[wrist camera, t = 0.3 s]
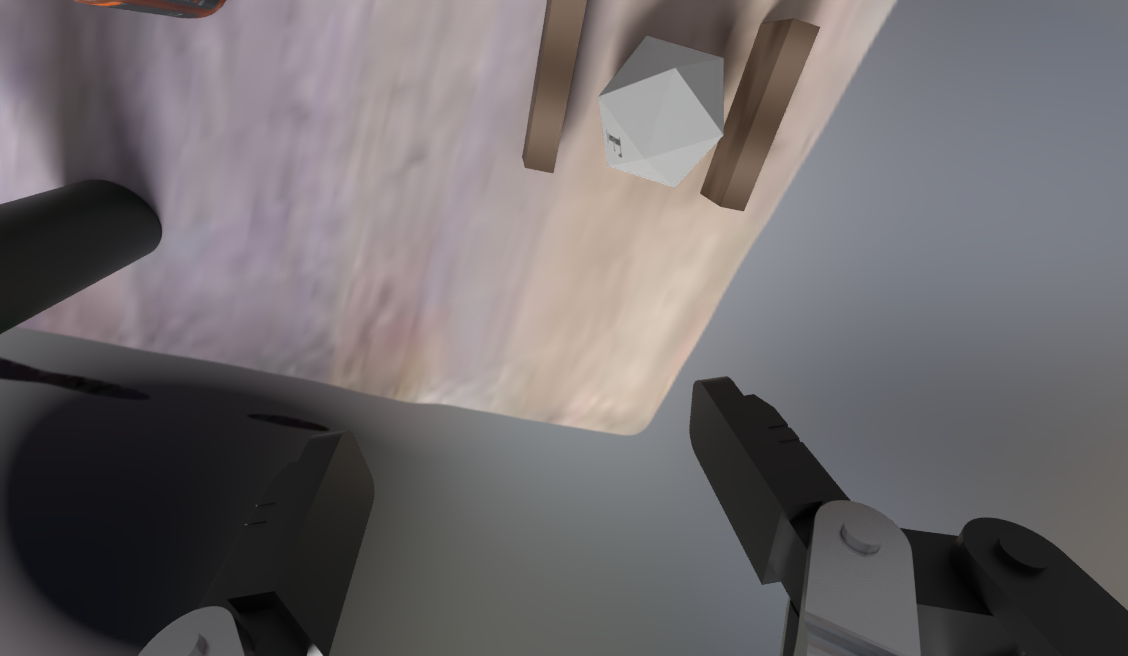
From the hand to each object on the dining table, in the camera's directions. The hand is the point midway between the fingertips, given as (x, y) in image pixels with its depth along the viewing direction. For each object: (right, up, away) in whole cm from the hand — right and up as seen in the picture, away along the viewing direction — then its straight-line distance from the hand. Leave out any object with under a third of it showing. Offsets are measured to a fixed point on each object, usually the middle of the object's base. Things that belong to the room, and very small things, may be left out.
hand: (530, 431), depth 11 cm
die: (+7, +19, +23) cm, 30 cm away
